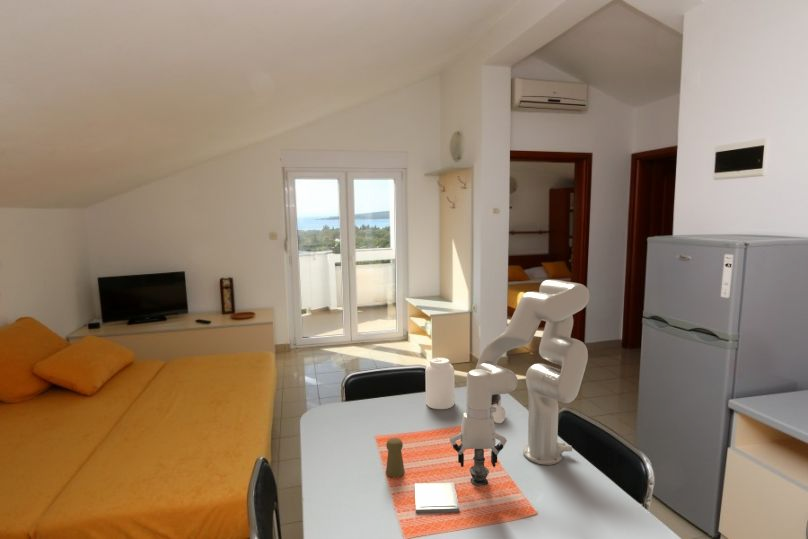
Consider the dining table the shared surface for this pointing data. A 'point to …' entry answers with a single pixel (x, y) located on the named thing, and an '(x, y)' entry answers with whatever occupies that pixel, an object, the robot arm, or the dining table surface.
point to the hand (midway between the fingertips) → (477, 464)
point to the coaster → (436, 498)
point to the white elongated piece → (440, 383)
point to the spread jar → (498, 409)
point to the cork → (394, 458)
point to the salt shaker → (479, 469)
